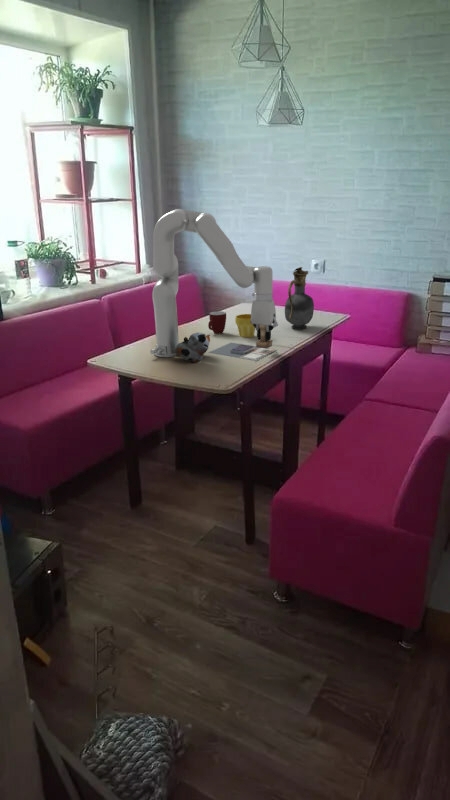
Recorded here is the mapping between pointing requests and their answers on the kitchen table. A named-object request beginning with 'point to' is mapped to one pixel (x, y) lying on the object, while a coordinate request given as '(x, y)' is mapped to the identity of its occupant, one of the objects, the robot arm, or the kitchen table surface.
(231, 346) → the desk mat
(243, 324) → the plant pot
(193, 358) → the lucky cat figurine
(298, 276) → the pitcher
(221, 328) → the mug
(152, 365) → the kitchen table surface
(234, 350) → the ink pad
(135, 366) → the kitchen table surface
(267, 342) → the stamp
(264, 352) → the paper sheet
